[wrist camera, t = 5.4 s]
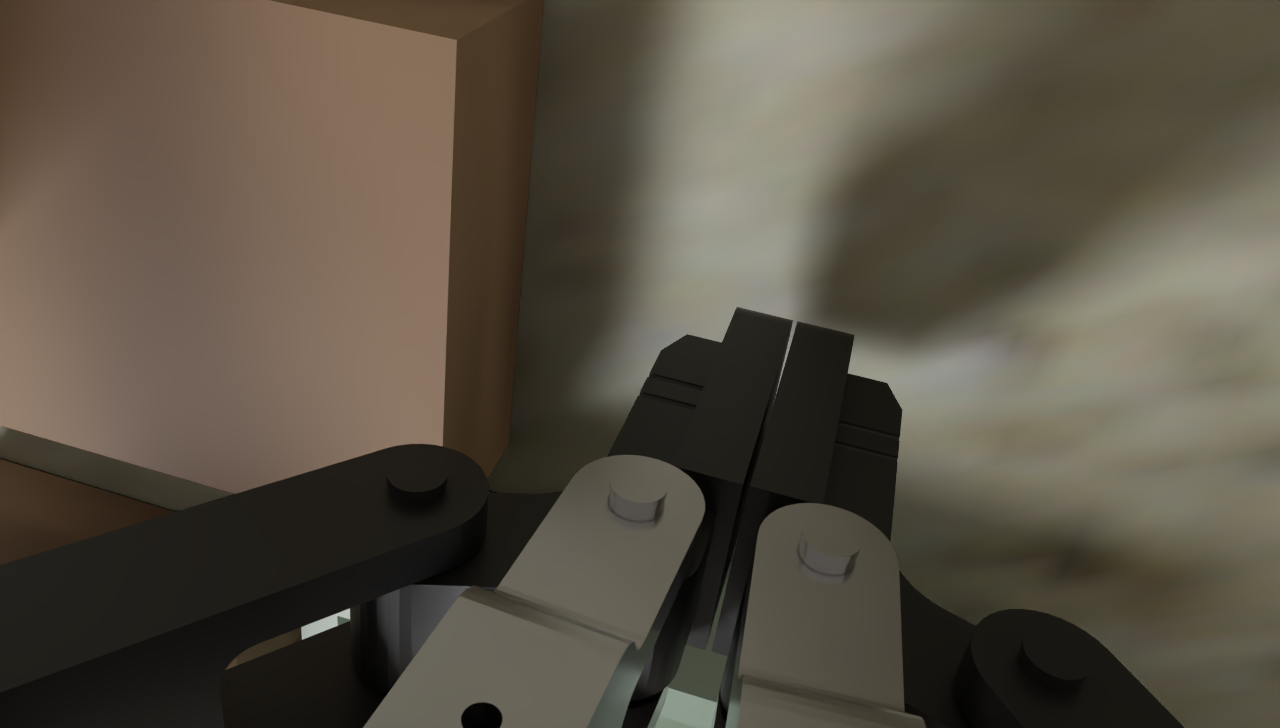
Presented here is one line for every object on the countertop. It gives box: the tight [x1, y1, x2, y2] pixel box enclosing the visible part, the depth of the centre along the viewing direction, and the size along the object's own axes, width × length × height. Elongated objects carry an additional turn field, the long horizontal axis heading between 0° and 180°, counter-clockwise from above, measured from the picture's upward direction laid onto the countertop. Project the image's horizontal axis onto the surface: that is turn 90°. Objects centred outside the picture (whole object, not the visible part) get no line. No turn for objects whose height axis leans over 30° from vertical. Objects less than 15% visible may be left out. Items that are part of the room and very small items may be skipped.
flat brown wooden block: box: [0, 0, 544, 494], centre depth 14 cm, size 7×7×3 cm
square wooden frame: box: [0, 459, 302, 670], centre depth 20 cm, size 7×7×2 cm
